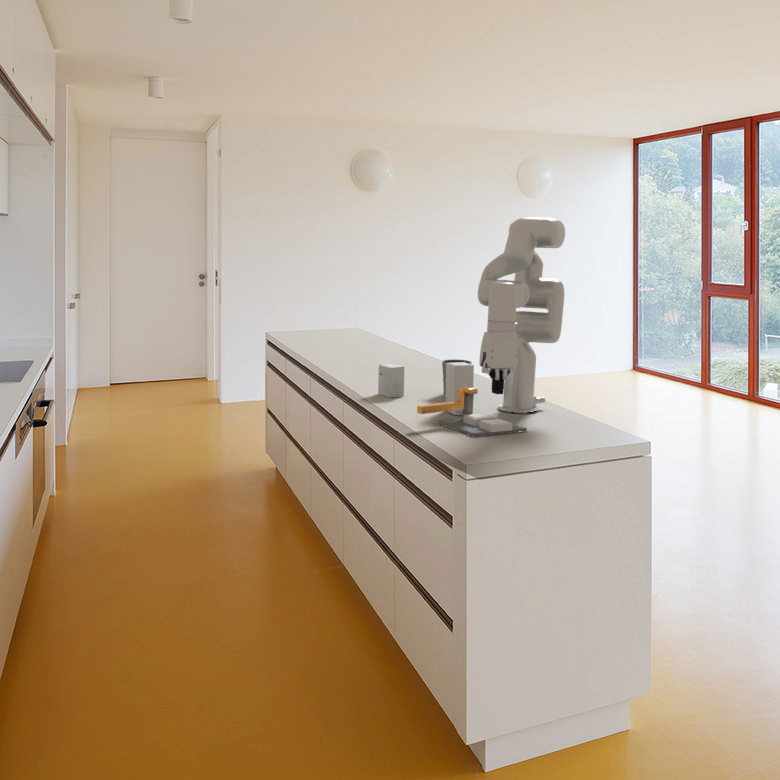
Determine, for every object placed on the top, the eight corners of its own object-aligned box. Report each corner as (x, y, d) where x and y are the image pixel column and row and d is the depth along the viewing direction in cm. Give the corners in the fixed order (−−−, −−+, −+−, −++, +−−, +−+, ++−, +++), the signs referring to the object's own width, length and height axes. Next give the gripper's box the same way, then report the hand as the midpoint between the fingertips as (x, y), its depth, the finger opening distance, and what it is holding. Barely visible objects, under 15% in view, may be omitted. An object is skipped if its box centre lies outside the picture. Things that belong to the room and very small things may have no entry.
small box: (404, 396, 266) (405, 366, 264) (390, 398, 263) (391, 367, 261) (390, 393, 273) (391, 363, 271) (377, 394, 270) (378, 364, 268)
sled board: (489, 418, 235) (490, 391, 233) (527, 432, 219) (529, 402, 217) (438, 423, 226) (439, 394, 225) (474, 437, 210) (476, 406, 209)
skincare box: (472, 415, 239) (475, 365, 236) (452, 415, 237) (455, 365, 235) (462, 409, 247) (465, 361, 244) (443, 410, 245) (445, 361, 242)
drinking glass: (474, 394, 274) (475, 361, 272) (463, 399, 266) (464, 364, 263) (447, 391, 279) (449, 358, 277) (436, 395, 270) (437, 361, 268)
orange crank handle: (468, 404, 232) (469, 386, 231) (480, 407, 228) (481, 389, 227) (413, 411, 219) (414, 392, 218) (425, 415, 215) (426, 395, 214)
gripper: (514, 325, 219) (510, 389, 222) (470, 326, 212) (467, 392, 215) (531, 328, 212) (527, 394, 215) (486, 329, 205) (483, 397, 208)
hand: (497, 393), depth 215 cm, fingers closed
